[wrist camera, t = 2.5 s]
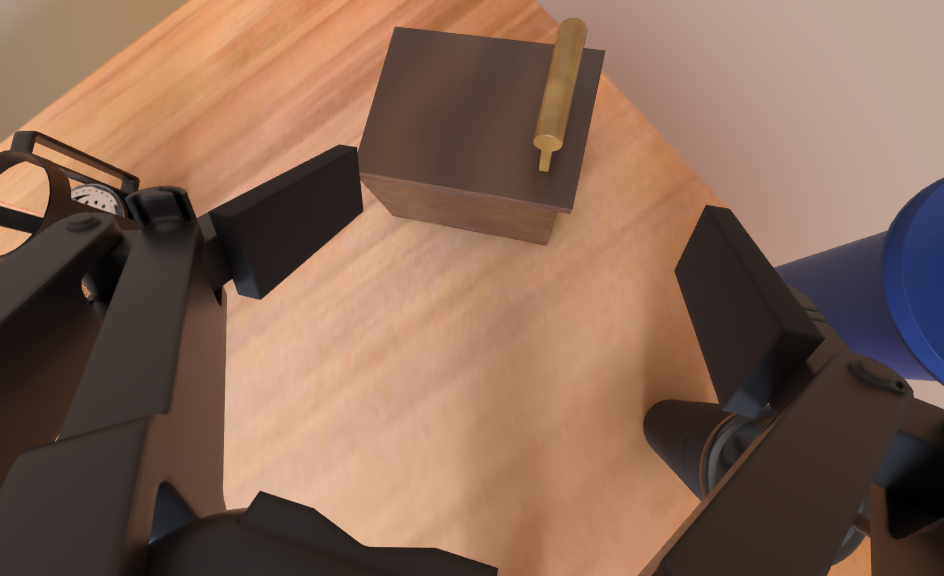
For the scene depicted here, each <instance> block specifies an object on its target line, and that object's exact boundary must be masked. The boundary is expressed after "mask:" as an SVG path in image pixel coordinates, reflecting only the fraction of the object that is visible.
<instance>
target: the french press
mask: <svg viewBox="0 0 944 576" xmlns="http://www.w3.org/2000/svg"><path fill="white" fill-rule="evenodd" d="M35 142H36V143H39V144H41V145H43V146H45V147H48V148H50V149H52V150H55V151H57V152H59V153H62V154H64V155H66V156H68V157H71V158H73V159H75V160H78V161H80V162H82V163H85V164H87V165H89V166H92V167H94V168H96V169H98V170H101V171H103V172H105V173H108V174H110V175H112V176H115V177H117V178H119V179H121V180H122V185H121V190H120V189H117V188H115V187H112V186H110V185H107V184H105V183H102V182H100V181H97V180H95V179H93V178H90V177H88V176H85V175H83V174H80V173H78V172H75V171H73V170H70V169H68V168H66V167H63V166H61V165H58V164H56V163H54V162H52V161H50V160H47V159H45V158H42V157H40V156H37V155H35V154H32V152H33V148H34V144H35ZM24 161H27V162H30V163H32V164H35V165H37V166H40V167H43V168H44V169H45V171H46V173H47V175H48V179H49V185H50V195H49V201H48V206H47V209H46V212H45V214H43V213H40V212H36V211H33V210H29V209H26V208H22V207H19V206H16V205H12V204H9V203H5V202H2V201H0V226H2V227H6V228H10V229H14V230H18V231H23V232H27V233H31V234H32V235H31V236H30V237H29V238H28V239H27V240H26V241H25V242H24V243H23V244H21V245H20V246H19V247H17V248H16V249H15V250H13V251H11V252H9V253H7V254H4V255H1V256H0V262H1V261H3V260H4V259H6V258H7V257H8V256H10V255H11V254H12V253H14V252H15V251H17V250H18V249H19V248H21V247H22V246H23V245H25V244H26V243H28V242H29V241H30V240H32V239H33V238H34V237H36V236H37V235H39V234H40V233H41V232H43V231H44V230H45V229H47V228H48V227H49V226H51V225H52V224H54V223H56V222H58V221H60V220H62V219H65V218H68V217H69V216H70V215H73V214H80V213H84V212H88V213H95V212H99V213H108V214H111V215H113V216H114V218H115V220H116V221H117V223H118V225H119V227H120V229H121V230H139V227H138V225H137V223H136V221H135V219H134V217H133V215H132V213H131V211H130V209H129V207H128V205H127V203H126V201H125V198H126V197H127V196H128V195H130V194H132V193H134V192H136V191H138V188H139V183H140V180H139V178H138V177H136V176H134V175H132V174H129V173H127V172H125V171H123V170H121V169H118V168H116V167H114V166H112V165H110V164H108V163H105V162H103V161H101V160H99V159H97V158H94V157H92V156H90V155H88V154H86V153H84V152H81V151H79V150H77V149H75V148H73V147H71V146H68V145H66V144H64V143H62V142H60V141H57V140H55V139H53V138H51V137H49V136H47V135H44V134H42V133H40V132H37V131H17V132H15V134H14V137H13V141H12V145H11V148H10V150H8V151H3V152H0V174H2V173H3V172H4V171H6V170H7V169H8V168H10V167H12V166H14V165H16V164H18V163H21V162H24ZM67 177H68V178H71V179H73V180H76V181H79V182H81V183H84V184H85V185H81V186H78V187H75V188H74V189H72V190H71V187H70V183H69V180H68V178H67Z"/></svg>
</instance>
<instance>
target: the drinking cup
mask: <svg viewBox="0 0 944 576" xmlns="http://www.w3.org/2000/svg"><path fill="white" fill-rule="evenodd" d="M774 418H775V415H774V413H773V411H772V409H771V406H770V404H767V405H766V406H765V407H764V408H763V409H762V411H761V412H760V413H759V414H758V415H757V416H756V417H755V418H752V417H747V416H743V415H739V414H735V413H731V412H727V411H722V409H721V406H720V404H714V403H703V402H692V401H681V400H664V401H661V402H658V403H656V404H655V405H653V406H652V407H651V408H650V409H649V411H648V412H647V414H646V416H645V419H644V434H645V437H646V439H647V441H648V443H649V445H650V446H651V447H652V448H653V449H654V451H655V452H656V453H657V454H658V455H659V456H660V457H661V458H662V459H663V460H664V461H665V462H666V464H667V465H668V466H669V467H670V468H671V469H672V470H673V471H674V472H675V473H676V474H677V475H678V477H679V478H680V479H681V480H682V481H683V482H684V483H685V484H686V485H687V486H688V487H689V489H690V490H691V491H692V492H693V493H694V494H695V495H696V496H697V497H698V498H699V499H700V500H701V502H702V501H703V499H704V498H705V497H706V496H707V495H708V494H709V492H710V491H711V490H712V489H713V488H714V487H715V485H716V484H717V483H718V482H719V481H720V480H721V478H722V477H723V476H724V475H725V474H726V473H727V472H728V470H729V469H730V468H731V467H732V466H733V465H734V463H735V462H736V461H737V460H738V459H739V458H740V456H741V455H742V454H743V453H744V452H745V451H746V449H747V448H748V447H749V446H750V445H751V442H752V441H753V440H754V439H755V438H756V437H757V436H758V435H759V434H760V432H761V431H762V430H763V429H764V428H765V427H766V426H767V425H768V424H769V423H770V422H771V421H772V420H773V419H774ZM865 536H867V537H869V538H870V506H869V490H868V492H867V494H866V496H865V498H864V500H863V502H862V504H861V506H860V508H859V511H858V513H857V515H856V517H855V519H854V521H853V523H852V525H851V527H850V529H849V531H848V533H847V535H846V537H845V539H844V541H843V543H842V545H841V547H840V549H839V551H838V553H837V555H836V557H835V559H834V562H833V564H832V565H835V564H837V563H839V562H840V561H842V560H844V559H845V558H847V557H848V556H849V555H850V554H852V553H853V552H854V551H855V550H856V549H857V547H858V546H859V545H860V544H861V542H862V541H863V539H864V538H865Z"/></svg>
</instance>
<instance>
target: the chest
mask: <svg viewBox="0 0 944 576" xmlns="http://www.w3.org/2000/svg"><path fill="white" fill-rule="evenodd" d="M360 180H361V181H362V182H363V183H364V184H365V185H366V187H367V188H368V189H369V190H370V191H371V192H372V193H373V194H374V195H375V196H376V197H377V199H378V200H379V201H380V202H381V203H382V204H383V205H384V206H385V207H386V208H387V209H388V211H389V212H390V213H391V214H392V215H393V216H398V217H403V218H408V219H413V220H419V221H424V222H429V223H434V224H439V225H444V226H449V227H455V228H460V229H465V230H470V231H475V232H480V233H485V234H491V235H496V236H501V237H506V238H511V239H516V240H521V241H527V242H532V243H537V244H542V245H547V243H548V240H549V236H550V233H551V229H552V226H553V222H554V219H555V215H556V211H551V210H545V209H540V208H534V207H529V206H523V205H518V204H512V203H506V202H501V201H495V200H490V199H484V198H479V197H473V196H468V195H462V194H457V193H451V192H445V191H440V190H434V189H429V188H423V187H418V186H412V185H407V184H401V183H395V182H390V181H384V180H379V179H373V178H368V177H362V176H360Z"/></svg>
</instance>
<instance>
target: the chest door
mask: <svg viewBox="0 0 944 576" xmlns="http://www.w3.org/2000/svg"><path fill="white" fill-rule="evenodd" d="M586 35H587V27H586V24H585V23H584V22H583V21H582V20H580V19H577V18H569V19H567V20H565V21H563V22H562V23H561V24H560V26H559V29H558V34H557V38H556V42H555V45H552V44H543V43H534V42H525V41H517V40H508V39H499V38H490V37H481V36H473V35H464V34H455V33H446V32H438V31H429V30H420V29H411V28H402V27H395V28H394V32H393V35H392V38H391V42H390V45H389V49H388V52H387V55H386V59H385V62H384V65H383V69H382V72H381V76H380V79H379V82H378V86H377V89H376V92H375V96H374V99H373V103H372V106H371V109H370V113H369V116H368V119H367V123H366V126H365V130H364V133H363V136H362V140H361V143H360V146H359V150H358V163H359V173H360V176H362V177H368V178H373V179H379V180H384V181H390V182H395V183H401V184H407V185H412V186H418V187H423V188H429V189H434V190H440V191H445V192H451V193H457V194H462V195H468V196H473V197H479V198H484V199H490V200H495V201H501V202H506V203H512V204H518V205H523V206H529V207H534V208H540V209H545V210H551V211H556V212H562V213H568V214H571V211H572V208H573V203H574V198H575V194H576V189H577V184H578V179H579V174H580V170H581V165H582V160H583V155H584V151H585V146H586V141H587V136H588V131H589V127H590V122H591V117H592V112H593V107H594V103H595V98H596V93H597V88H598V83H599V79H600V74H601V69H602V64H603V59H604V55H605V51H604V50H595V49H587V48H584V44H585V39H586Z"/></svg>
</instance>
